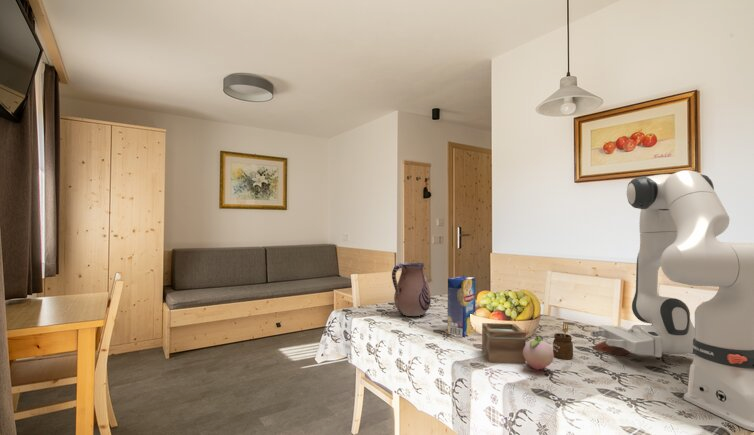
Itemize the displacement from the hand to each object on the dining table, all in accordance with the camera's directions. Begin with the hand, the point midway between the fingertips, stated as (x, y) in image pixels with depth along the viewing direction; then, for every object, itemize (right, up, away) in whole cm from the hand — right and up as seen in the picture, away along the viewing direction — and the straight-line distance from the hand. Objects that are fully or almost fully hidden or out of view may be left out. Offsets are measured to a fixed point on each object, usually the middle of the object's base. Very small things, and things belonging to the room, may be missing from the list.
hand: (598, 337), depth 122 cm
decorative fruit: (-25, -6, -12) cm, 28 cm away
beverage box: (-39, -7, +27) cm, 48 cm away
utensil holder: (-12, -7, +1) cm, 13 cm away
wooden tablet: (+16, -8, +13) cm, 22 cm away
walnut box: (-32, -6, 0) cm, 32 cm away
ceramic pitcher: (-57, -8, +57) cm, 81 cm away
